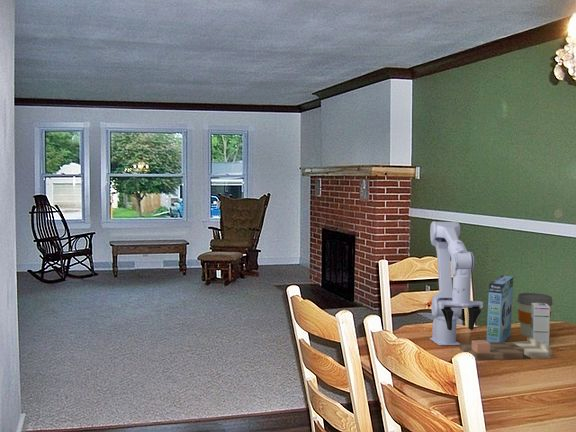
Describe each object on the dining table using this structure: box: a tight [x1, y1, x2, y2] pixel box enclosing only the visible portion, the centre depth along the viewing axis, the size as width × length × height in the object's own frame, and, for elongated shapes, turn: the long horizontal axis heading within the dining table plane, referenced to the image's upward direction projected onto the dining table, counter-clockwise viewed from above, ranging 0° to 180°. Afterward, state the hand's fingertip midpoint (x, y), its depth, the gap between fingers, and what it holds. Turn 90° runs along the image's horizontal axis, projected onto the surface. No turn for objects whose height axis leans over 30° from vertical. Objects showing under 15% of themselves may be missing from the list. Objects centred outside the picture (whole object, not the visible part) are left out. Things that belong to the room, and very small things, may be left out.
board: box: [459, 336, 552, 361], centre depth 216 cm, size 14×26×4 cm, turn 98°
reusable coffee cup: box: [517, 292, 553, 337], centre depth 243 cm, size 13×13×15 cm
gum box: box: [485, 275, 514, 342], centre depth 232 cm, size 20×5×23 cm, turn 149°
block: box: [471, 339, 490, 353], centre depth 212 cm, size 4×4×3 cm
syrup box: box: [530, 303, 551, 347], centre depth 230 cm, size 6×6×14 cm
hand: (460, 329), depth 211 cm, fingers open, 7 cm apart
